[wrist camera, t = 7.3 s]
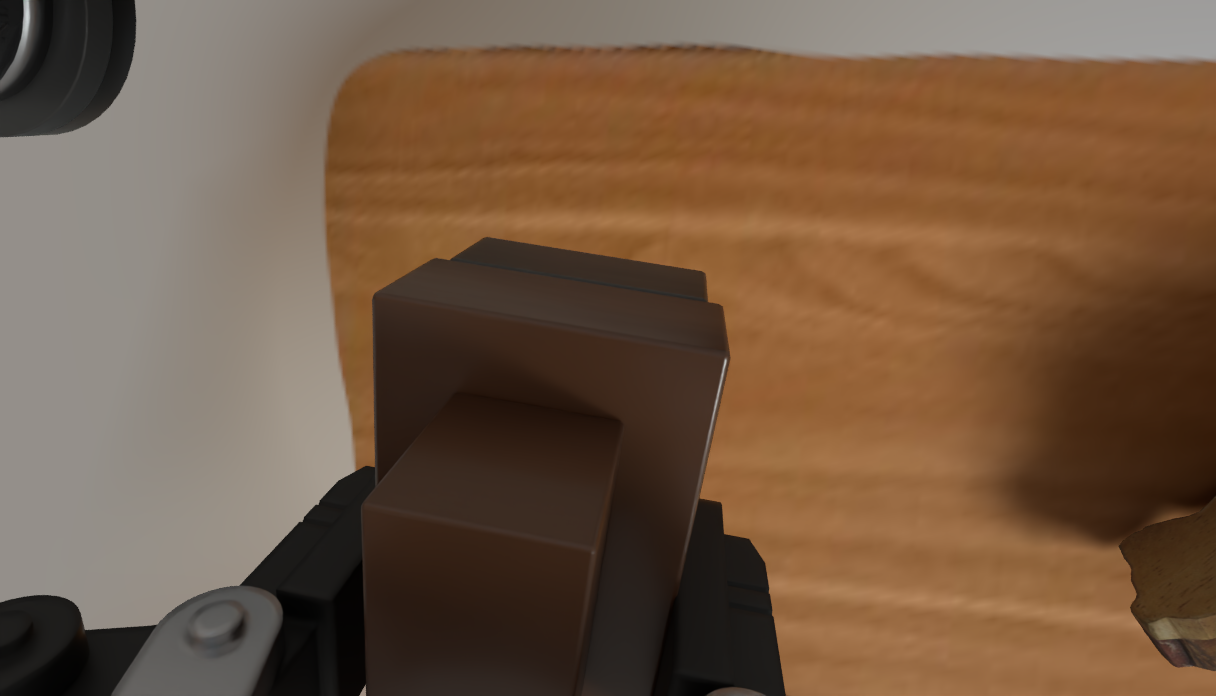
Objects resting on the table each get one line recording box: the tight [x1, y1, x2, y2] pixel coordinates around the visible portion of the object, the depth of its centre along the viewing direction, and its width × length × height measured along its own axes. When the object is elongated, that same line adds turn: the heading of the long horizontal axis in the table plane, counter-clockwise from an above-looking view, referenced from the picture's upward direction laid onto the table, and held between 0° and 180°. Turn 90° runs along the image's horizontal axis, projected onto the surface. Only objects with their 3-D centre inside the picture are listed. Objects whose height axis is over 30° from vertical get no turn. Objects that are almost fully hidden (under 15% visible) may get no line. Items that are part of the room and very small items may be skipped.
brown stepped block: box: [361, 237, 730, 696], centre depth 9 cm, size 9×4×6 cm, turn 173°
